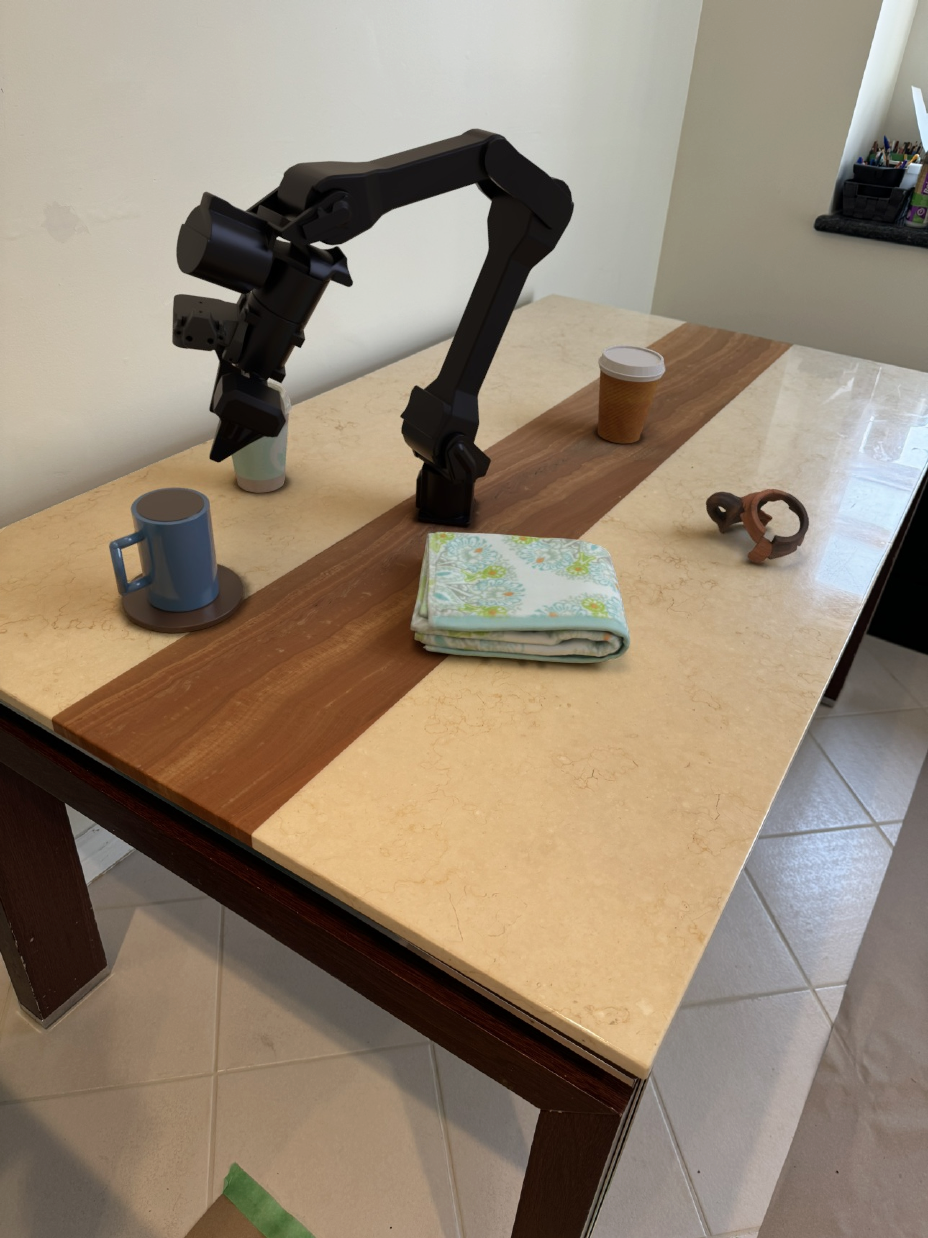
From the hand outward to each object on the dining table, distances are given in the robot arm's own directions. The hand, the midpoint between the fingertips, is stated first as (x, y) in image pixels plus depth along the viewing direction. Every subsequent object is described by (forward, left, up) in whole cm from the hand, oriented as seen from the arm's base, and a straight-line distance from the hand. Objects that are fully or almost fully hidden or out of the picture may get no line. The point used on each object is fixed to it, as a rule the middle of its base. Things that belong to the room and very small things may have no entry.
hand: (213, 435), depth 89 cm
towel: (-33, +5, -14) cm, 36 cm away
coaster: (+1, +10, -14) cm, 17 cm away
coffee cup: (+1, -16, -14) cm, 21 cm away
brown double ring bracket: (-60, -15, -14) cm, 63 cm away
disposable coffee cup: (-45, -43, -14) cm, 64 cm away
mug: (+2, +11, -13) cm, 17 cm away
